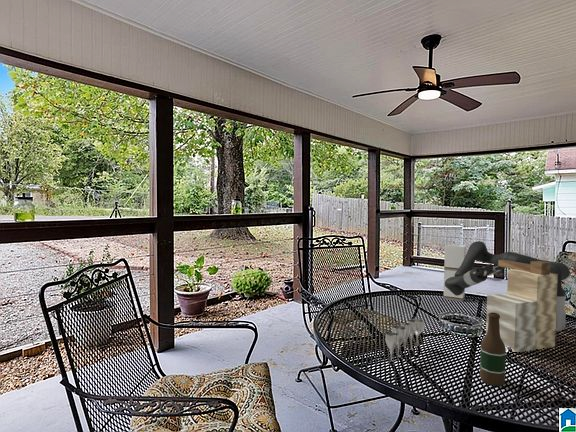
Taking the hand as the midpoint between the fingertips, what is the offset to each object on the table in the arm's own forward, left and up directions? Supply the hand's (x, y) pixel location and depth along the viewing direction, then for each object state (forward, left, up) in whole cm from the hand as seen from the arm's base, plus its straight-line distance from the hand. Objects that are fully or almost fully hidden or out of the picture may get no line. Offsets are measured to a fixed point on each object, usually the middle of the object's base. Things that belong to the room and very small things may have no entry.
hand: (498, 265), depth 175 cm
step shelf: (+5, +16, -32) cm, 37 cm away
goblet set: (+62, +11, -32) cm, 71 cm away
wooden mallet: (-1, +11, 0) cm, 11 cm away
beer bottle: (+46, +38, -32) cm, 68 cm away
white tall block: (-25, -54, -32) cm, 67 cm away
